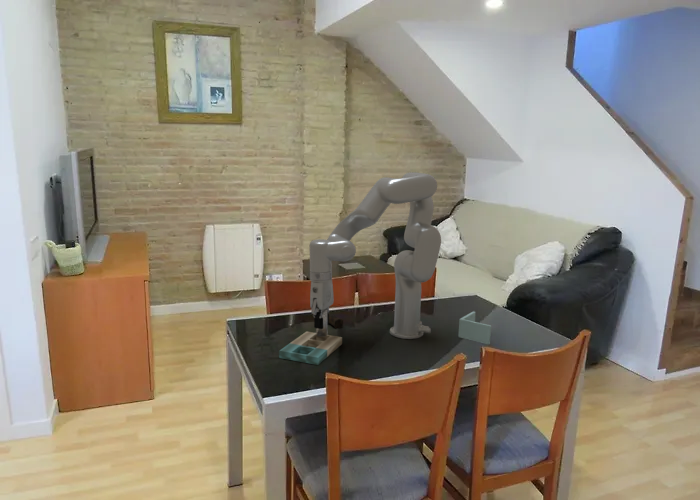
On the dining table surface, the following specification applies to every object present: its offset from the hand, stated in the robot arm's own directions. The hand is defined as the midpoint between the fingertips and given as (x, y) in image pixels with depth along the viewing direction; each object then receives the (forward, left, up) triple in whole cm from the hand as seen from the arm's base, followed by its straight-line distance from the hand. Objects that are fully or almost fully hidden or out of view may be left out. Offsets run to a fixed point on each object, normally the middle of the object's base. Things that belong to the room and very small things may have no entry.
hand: (321, 325), depth 184 cm
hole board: (0, +7, -7) cm, 10 cm away
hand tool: (+9, -23, -7) cm, 25 cm away
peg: (0, 0, -3) cm, 3 cm away
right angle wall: (-51, -32, -8) cm, 60 cm away
